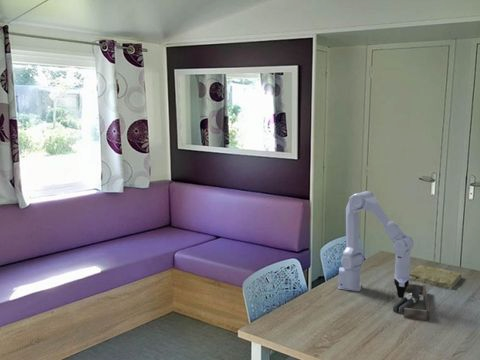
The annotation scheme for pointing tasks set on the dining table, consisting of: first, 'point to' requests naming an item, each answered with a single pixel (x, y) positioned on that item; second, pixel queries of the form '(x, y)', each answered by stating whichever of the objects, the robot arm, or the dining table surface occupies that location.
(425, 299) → the box
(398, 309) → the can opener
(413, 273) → the decorative tile
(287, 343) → the dining table surface
